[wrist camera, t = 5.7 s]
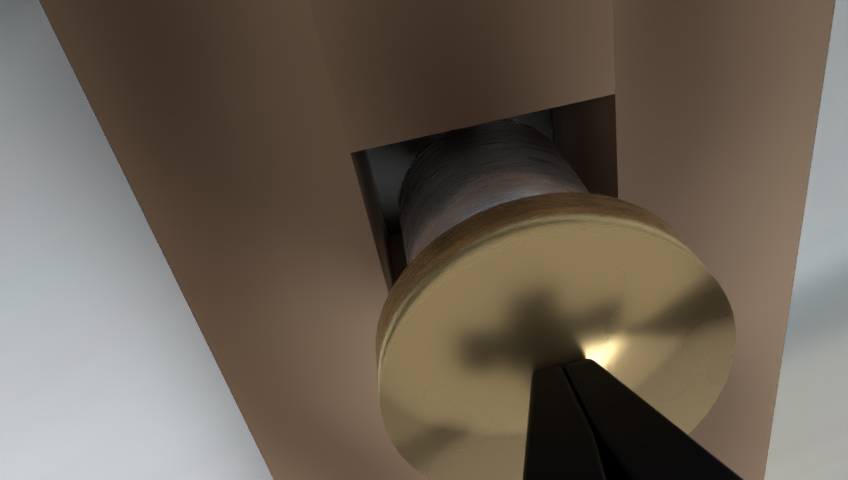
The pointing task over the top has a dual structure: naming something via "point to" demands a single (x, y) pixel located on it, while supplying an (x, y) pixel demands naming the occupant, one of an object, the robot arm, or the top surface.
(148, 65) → the walnut block
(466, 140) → the plunger ochre
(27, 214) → the top surface
